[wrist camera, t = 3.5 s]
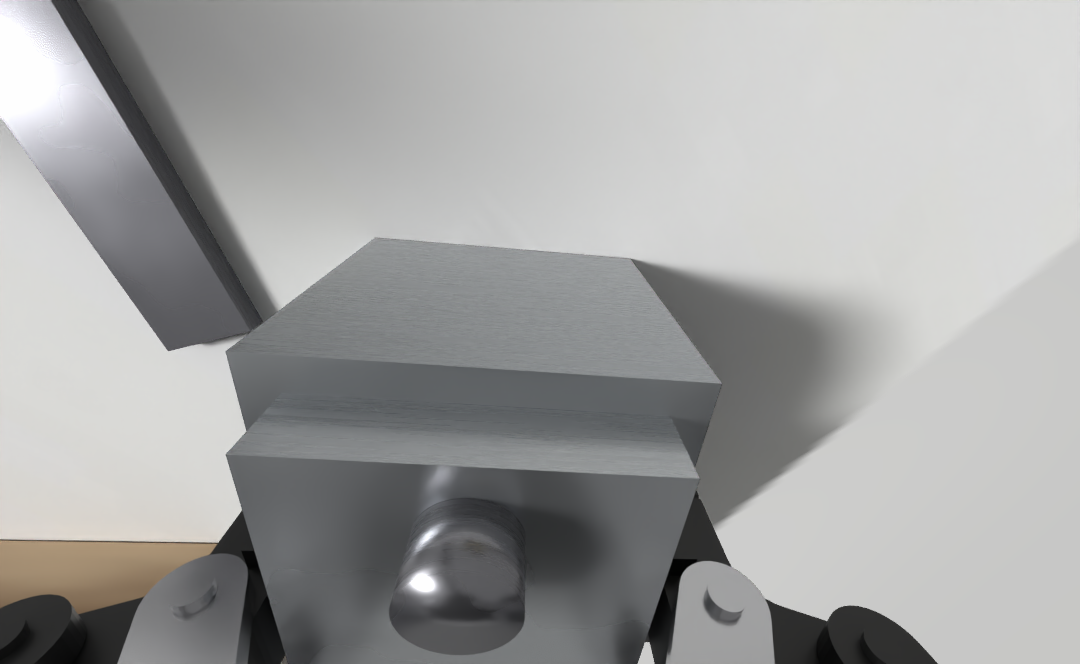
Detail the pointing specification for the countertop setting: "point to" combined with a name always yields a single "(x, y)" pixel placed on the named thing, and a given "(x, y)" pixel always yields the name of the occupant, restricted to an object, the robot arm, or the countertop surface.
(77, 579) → the stand
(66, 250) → the countertop surface
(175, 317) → the bar
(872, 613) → the robot arm
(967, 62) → the countertop surface
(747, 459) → the countertop surface
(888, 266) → the countertop surface
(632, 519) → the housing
